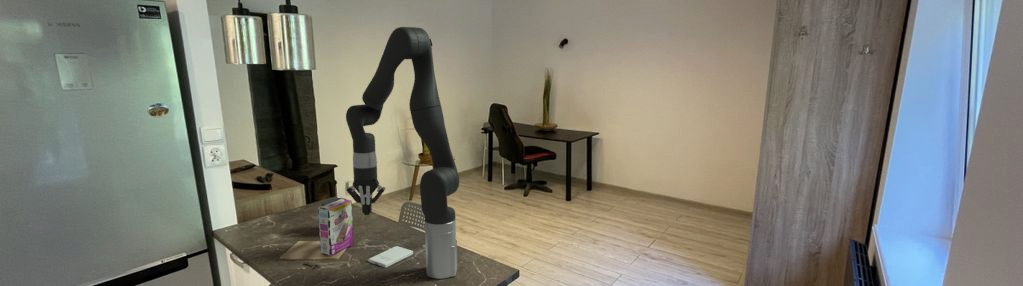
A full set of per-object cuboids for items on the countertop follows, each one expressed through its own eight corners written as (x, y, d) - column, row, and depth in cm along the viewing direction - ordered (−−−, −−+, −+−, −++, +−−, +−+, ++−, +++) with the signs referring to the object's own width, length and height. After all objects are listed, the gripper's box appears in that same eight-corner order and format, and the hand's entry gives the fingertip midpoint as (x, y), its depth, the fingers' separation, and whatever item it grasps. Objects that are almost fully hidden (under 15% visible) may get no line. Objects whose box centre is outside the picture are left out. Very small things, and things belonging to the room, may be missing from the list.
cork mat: (351, 242, 169) (351, 241, 169) (337, 259, 155) (337, 257, 155) (298, 242, 169) (298, 241, 169) (279, 259, 155) (279, 257, 155)
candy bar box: (331, 257, 156) (328, 209, 153) (320, 254, 158) (316, 207, 155) (355, 244, 166) (352, 199, 163) (343, 242, 168) (341, 198, 165)
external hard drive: (413, 255, 160) (385, 269, 150) (395, 250, 165) (367, 263, 154) (413, 250, 160) (385, 264, 150) (395, 245, 164) (367, 258, 154)
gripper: (341, 167, 153) (343, 218, 156) (381, 167, 153) (383, 218, 156) (348, 161, 160) (351, 210, 164) (387, 162, 160) (389, 211, 164)
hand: (367, 214), depth 160 cm, fingers closed
